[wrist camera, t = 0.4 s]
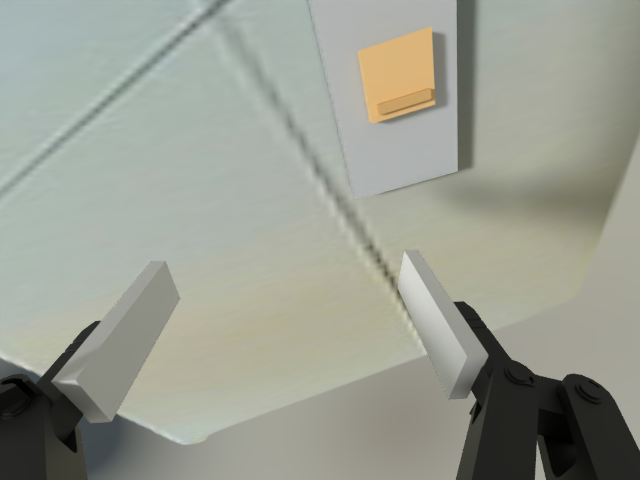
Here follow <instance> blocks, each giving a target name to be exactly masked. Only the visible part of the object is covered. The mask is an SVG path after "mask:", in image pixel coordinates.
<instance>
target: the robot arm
mask: <svg viewBox="0 0 640 480" xmlns="http://www.w3.org/2000/svg"><path fill="white" fill-rule="evenodd" d="M398 290H399V292H400V294H401V296H402V298H403V301H404V303H405V305H406V307H407V309H408V312H409V314H410V316H411V318H412V320H413V323H414V325H415V327H416V329H417V331H418V334H419V336H420V338H421V340H422V342H423V345H424V347H425V349H426V351H427V354H428V356H429V358H430V360H431V362H432V365H433V367H434V369H435V371H436V373H437V376H438V378H439V380H440V382H441V384H442V386H443V389H444V391H445V393H446V395H447V398H448V399H464V398H467V397H468V395H469V393H470V391H471V390H472V392H473V394H474V396H475V398H476V399H477V400H476V402H475V404H474V406H473V408H472V410H471V411H470V414H471V415H472V416H471V420H470V424H469V429H468V432H467V436H466V441H465V445H464V449H463V453H462V457H461V461H460V465H459V469H458V473H457V477H456V480H535V465H536V445H537V441H538V446H539V450H540V454H541V459H542V463H543V468H544V472H545V477H546V480H640V451H639V449H638V447H637V445H636V442H635V441H634V438H633V436H632V434H631V432H630V430H629V428H628V426H627V424H626V422H625V420H624V418H623V416H622V414H621V412H620V410H619V408H618V406H617V404H616V402H615V400H614V399H613V397H612V396H611V395H610V393H609V392H608V391H607V390H606V389H605V388H603V387H602V386H601V385H600V384H598V383H597V382H595V381H594V380H592V379H590V378H587V377H585V376H583V375H579V374H569V375H567V376H566V377H565V378H564V379H563V380H562V381H559V380H555V379H551V378H547V377H543V376H538V375H535V374H534V373H533V372H532V371H531V370H530V369H528V368H527V367H526V366H524V365H523V364H521V363H519V362H517V361H514V360H511V358H510V357H509V356H508V355H507V353H506V352H505V351H504V349H503V348H502V346H501V345H500V344H499V342H498V341H497V340H496V338H495V337H494V336H493V334H492V333H491V332H490V330H489V329H487V326H486V325H485V323H484V322H483V321H481V318H480V317H479V315H478V314H477V313H476V311H475V310H474V309H473V308H472V307H470V306H469V305H468V304H466V303H465V302H464V301H463V302H453V301H452V300H451V298H450V297H449V295H448V294H447V292H446V291H445V289H444V288H443V286H442V285H441V283H440V282H439V280H438V279H437V277H436V276H435V274H434V273H433V272H432V270H431V269H430V267H429V266H428V264H427V263H426V261H425V260H424V258H423V257H422V255H421V254H420V252H419V251H418V250H405V251H404V256H403V262H402V267H401V273H400V278H399V284H398ZM179 300H180V297H179V294H178V292H177V289H176V286H175V284H174V281H173V279H172V276H171V274H170V271H169V269H168V266H167V264H166V261H152V262H150V263H149V265H148V266H147V267H146V268H145V269H144V271H143V272H142V273H141V274H140V275H139V277H138V278H137V279H136V280H135V281H134V283H133V284H132V285H131V286H130V287H129V289H128V290H127V291H126V292H125V293H124V295H123V296H122V297H121V298H120V299H119V301H118V302H117V303H116V304H115V305H114V307H113V308H112V309H111V310H110V311H109V313H108V314H107V315H106V316H105V317H104V319H103V320H102V321H95V322H94V323H92V324H91V325H89V326H88V327H87V328H85V329H84V330H83V331H82V332H81V333H80V334H79V335H78V336H77V337H76V339H75V340H74V341H73V344H70V345H69V347H68V348H67V349H66V350H65V353H62V355H61V356H60V357H59V358H58V359H57V360H56V361H55V363H54V364H53V365H52V366H51V367H50V368H49V369H48V371H47V372H46V373H45V374H44V375H43V376H42V377H41V379H40V380H39V381H38V382H37V383H36V384H35V383H34V382H33V381H32V380H31V379H30V378H29V377H28V376H27V375H24V374H17V375H11V376H8V377H6V378H3V379H1V380H0V480H87V472H86V466H85V459H84V452H83V445H82V438H81V432H80V429H79V427H78V425H77V423H78V422H79V421H80V419H81V418H82V416H84V417H85V418H86V419H87V420H88V421H89V422H90V423H100V422H111V421H112V420H113V418H114V416H115V414H116V412H117V411H118V409H119V407H120V405H121V403H122V402H123V400H124V398H125V396H126V395H127V393H128V391H129V389H130V387H131V386H132V384H133V382H134V380H135V378H136V377H137V375H138V373H139V371H140V370H141V368H142V366H143V364H144V362H145V361H146V359H147V357H148V355H149V353H150V352H151V350H152V348H153V346H154V345H155V343H156V341H157V339H158V337H159V336H160V334H161V332H162V330H163V328H164V327H165V325H166V323H167V321H168V320H169V318H170V316H171V314H172V312H173V311H174V309H175V307H176V305H177V303H178V302H179Z"/></svg>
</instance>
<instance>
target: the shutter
mask: <svg viewBox="0 0 640 480" xmlns="http://www.w3.org/2000/svg"><path fill="white" fill-rule="evenodd" d="M357 53H358V59H359V65H360V71H361V77H362V83H363V89H364V95H365V101H366V106H367V112H368V118H369V122H371V123H377V122H380V121H383V120H386V119H390V118H393V117H396V116H399V115H403V114H406V113H409V112H412V111H416V110H419V109H422V108H425V107H429V106H432V105H435V86H434V65H433V43H432V26H430V27H427V28H424V29H421V30H418V31H416V32H413V33H410V34H407V35H404V36H401V37H398V38H395V39H392V40H389V41H386V42H383V43H380V44H377V45H374V46H371V47H368V48H365V49H362V50H360V51H358V52H357Z"/></svg>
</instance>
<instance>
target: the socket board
mask: <svg viewBox="0 0 640 480" xmlns="http://www.w3.org/2000/svg"><path fill="white" fill-rule="evenodd" d="M308 3H309V7H310V12H311V16H312V20H313V25H314V29H315V33H316V38H317V42H318V46H319V51H320V55H321V59H322V64H323V68H324V72H325V77H326V81H327V85H328V90H329V94H330V98H331V103H332V107H333V111H334V116H335V120H336V124H337V129H338V133H339V137H340V142H341V146H342V150H343V155H344V159H345V163H346V168H347V172H348V176H349V180H350V185H351V189H352V192H353V194H354V196H355V199H356V200H358V199H361V198H365V197H368V196H372V195H375V194H379V193H383V192H386V191H390V190H393V189H397V188H400V187H404V186H407V185H411V184H415V183H418V182H422V181H425V180H429V179H432V178H436V177H439V176H443V175H446V174H450V173H454V172H457V171H458V138H457V0H308ZM430 26H432V43H433V65H434V86H435V105H432V106H429V107H425V108H422V109H419V110H416V111H412V112H409V113H406V114H403V115H399V116H396V117H393V118H390V119H386V120H383V121H380V122H377V123H371V122H369V118H368V112H367V106H366V101H365V95H364V89H363V83H362V77H361V71H360V65H359V59H358V53H357V52H358V51H360V50H362V49H365V48H368V47H371V46H374V45H377V44H380V43H383V42H386V41H389V40H392V39H395V38H398V37H401V36H404V35H407V34H410V33H413V32H416V31H418V30H421V29H424V28H427V27H430Z"/></svg>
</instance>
